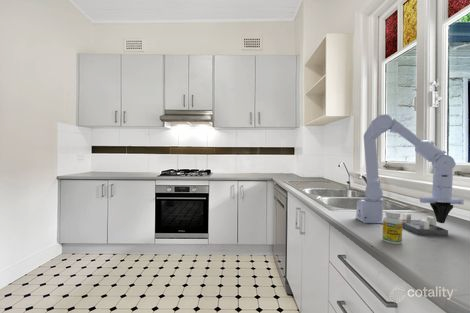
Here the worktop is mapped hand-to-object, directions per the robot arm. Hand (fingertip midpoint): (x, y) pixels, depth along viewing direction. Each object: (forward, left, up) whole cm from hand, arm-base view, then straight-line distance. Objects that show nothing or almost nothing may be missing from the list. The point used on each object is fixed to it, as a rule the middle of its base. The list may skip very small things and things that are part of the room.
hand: (440, 222), depth 96 cm
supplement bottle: (-26, -15, -3) cm, 30 cm away
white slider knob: (-3, 0, -1) cm, 3 cm away
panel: (-7, 0, -3) cm, 8 cm away
